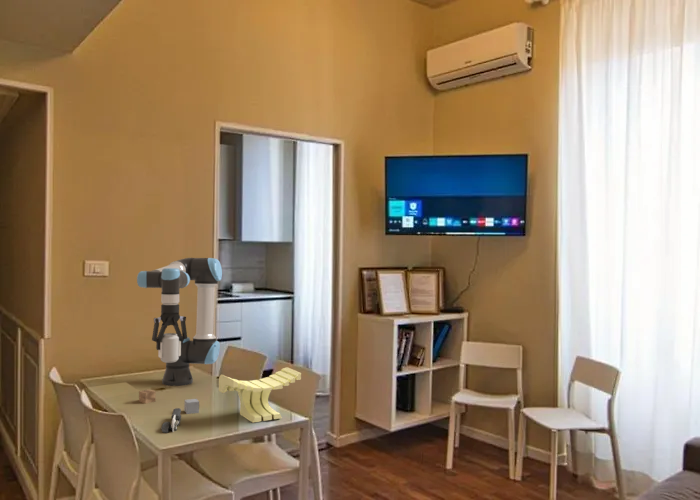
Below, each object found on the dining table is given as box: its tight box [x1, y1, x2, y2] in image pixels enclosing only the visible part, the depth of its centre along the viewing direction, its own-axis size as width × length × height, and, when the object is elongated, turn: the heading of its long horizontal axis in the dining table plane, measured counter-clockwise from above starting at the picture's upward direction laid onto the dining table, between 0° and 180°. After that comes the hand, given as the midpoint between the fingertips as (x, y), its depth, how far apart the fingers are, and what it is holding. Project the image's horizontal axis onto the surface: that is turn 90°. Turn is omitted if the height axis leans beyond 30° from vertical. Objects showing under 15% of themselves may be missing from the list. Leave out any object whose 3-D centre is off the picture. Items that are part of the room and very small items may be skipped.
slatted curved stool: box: [218, 366, 302, 423], centre depth 251 cm, size 30×16×18 cm, turn 123°
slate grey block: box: [183, 398, 200, 415], centre depth 254 cm, size 5×5×5 cm
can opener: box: [161, 407, 182, 434], centre depth 235 cm, size 19×6×5 cm, turn 8°
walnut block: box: [138, 389, 157, 404], centre depth 268 cm, size 5×5×5 cm
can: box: [160, 332, 179, 364], centre depth 261 cm, size 8×8×12 cm
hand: (169, 356), depth 261 cm, fingers closed on can, 7 cm apart
